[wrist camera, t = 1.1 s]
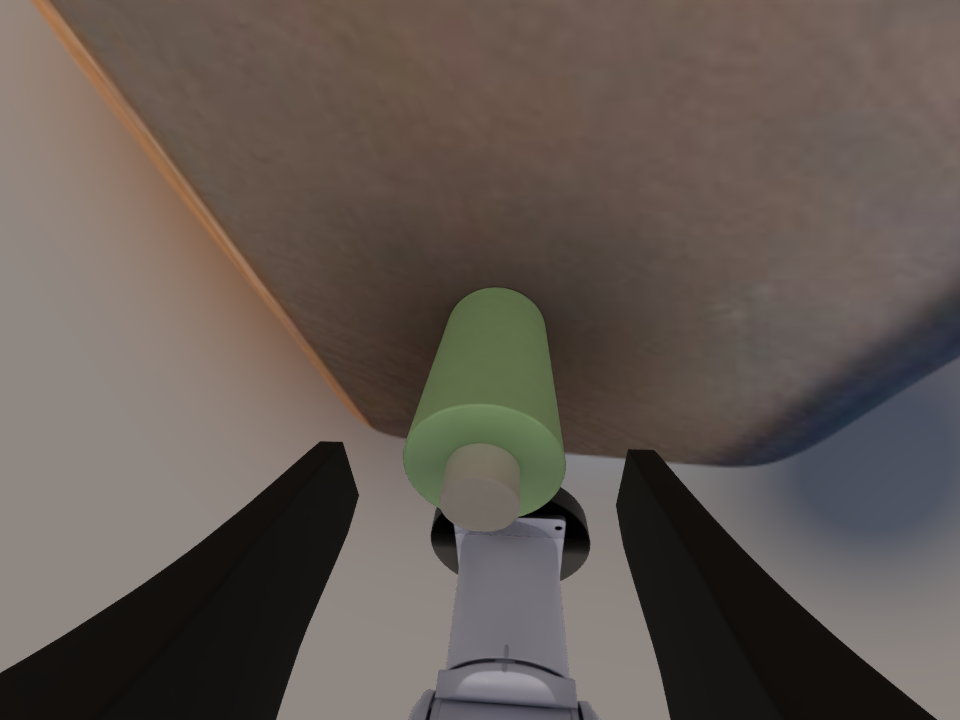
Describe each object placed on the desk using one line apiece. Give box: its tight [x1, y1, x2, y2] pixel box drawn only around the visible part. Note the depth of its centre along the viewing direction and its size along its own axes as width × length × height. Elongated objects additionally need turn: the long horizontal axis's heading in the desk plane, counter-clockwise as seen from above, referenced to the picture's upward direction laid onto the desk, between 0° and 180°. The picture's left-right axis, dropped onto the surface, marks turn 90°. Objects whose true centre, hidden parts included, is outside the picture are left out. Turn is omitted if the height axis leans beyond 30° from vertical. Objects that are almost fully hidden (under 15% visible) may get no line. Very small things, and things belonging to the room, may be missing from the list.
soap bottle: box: [403, 287, 566, 532], centre depth 13 cm, size 4×4×9 cm
